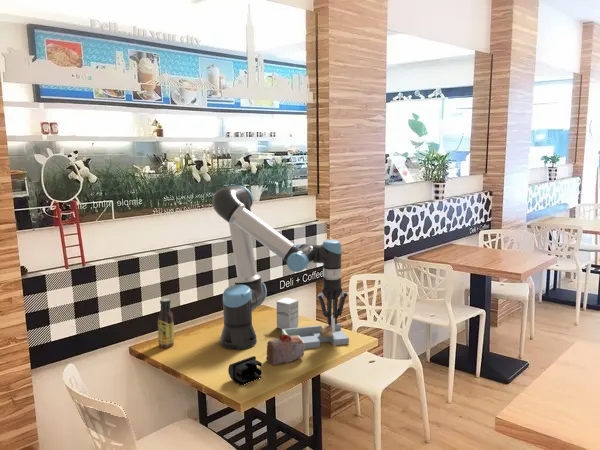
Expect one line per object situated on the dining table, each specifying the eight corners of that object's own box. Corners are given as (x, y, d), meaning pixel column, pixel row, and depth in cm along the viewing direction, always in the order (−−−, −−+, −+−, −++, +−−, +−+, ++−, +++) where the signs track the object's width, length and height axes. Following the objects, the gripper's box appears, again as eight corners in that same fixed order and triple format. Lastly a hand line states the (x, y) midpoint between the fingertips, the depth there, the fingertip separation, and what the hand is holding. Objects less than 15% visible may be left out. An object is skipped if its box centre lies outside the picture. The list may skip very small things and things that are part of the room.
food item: (295, 352, 200) (295, 328, 199) (306, 359, 193) (305, 335, 192) (265, 360, 193) (264, 335, 192) (274, 367, 187) (274, 342, 185)
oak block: (323, 337, 208) (323, 328, 208) (320, 334, 212) (320, 325, 212) (332, 336, 209) (332, 327, 209) (329, 333, 213) (329, 324, 213)
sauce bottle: (155, 345, 207) (153, 299, 204) (168, 341, 212) (166, 296, 209) (164, 350, 203) (162, 302, 200) (177, 345, 208) (175, 299, 204)
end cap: (251, 371, 184) (250, 353, 183) (263, 377, 179) (262, 359, 178) (228, 379, 177) (227, 361, 176) (240, 387, 172) (239, 368, 171)
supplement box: (276, 328, 227) (275, 301, 224) (285, 323, 233) (285, 296, 231) (289, 331, 222) (289, 304, 220) (299, 326, 228) (298, 299, 226)
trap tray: (340, 334, 219) (340, 323, 218) (348, 343, 208) (349, 332, 207) (281, 340, 212) (281, 329, 211) (287, 350, 202) (287, 338, 201)
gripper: (319, 281, 202) (320, 336, 206) (350, 278, 206) (349, 333, 209) (314, 276, 210) (314, 330, 213) (343, 274, 213) (343, 327, 217)
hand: (332, 331), depth 211 cm, fingers closed
